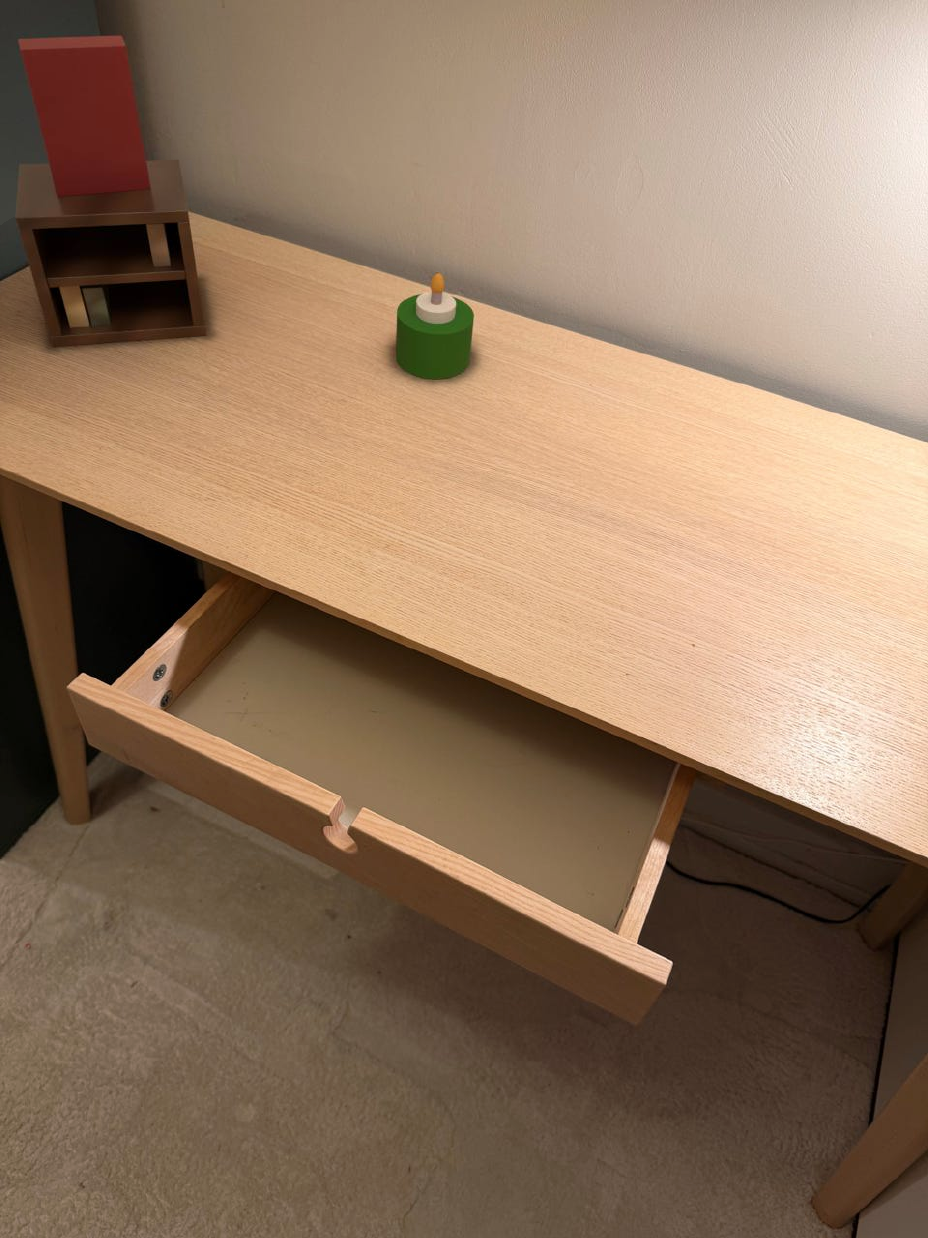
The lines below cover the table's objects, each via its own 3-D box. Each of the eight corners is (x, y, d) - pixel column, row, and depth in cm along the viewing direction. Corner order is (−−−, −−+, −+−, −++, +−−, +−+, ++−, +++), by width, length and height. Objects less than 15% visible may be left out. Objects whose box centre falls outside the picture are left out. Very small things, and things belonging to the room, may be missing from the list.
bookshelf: (52, 346, 97) (15, 217, 87) (54, 289, 105) (19, 163, 94) (206, 335, 101) (187, 210, 91) (197, 280, 109) (179, 159, 98)
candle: (403, 381, 98) (406, 296, 91) (389, 339, 104) (391, 255, 96) (477, 376, 100) (486, 292, 93) (460, 335, 105) (467, 252, 98)
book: (57, 196, 90) (20, 49, 81) (54, 184, 92) (17, 38, 82) (150, 188, 93) (125, 45, 83) (146, 177, 95) (121, 34, 85)
